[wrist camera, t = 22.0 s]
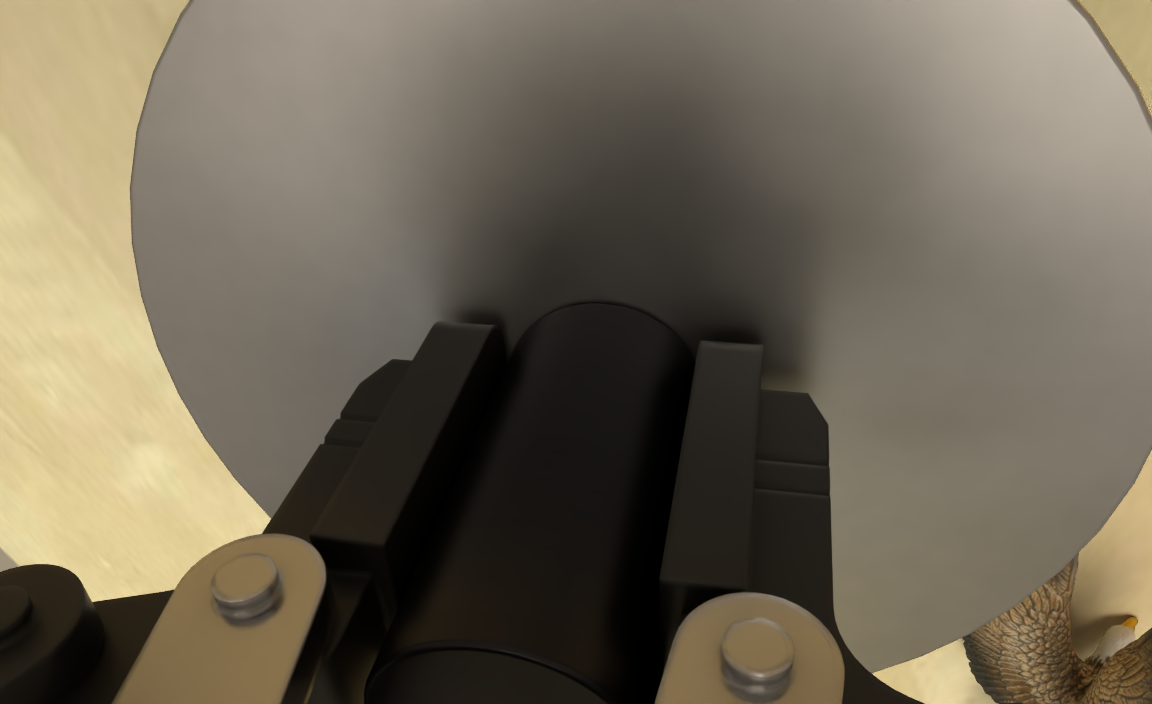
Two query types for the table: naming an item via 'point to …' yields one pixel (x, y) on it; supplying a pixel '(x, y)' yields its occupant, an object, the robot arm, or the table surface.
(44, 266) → the table surface
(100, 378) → the table surface
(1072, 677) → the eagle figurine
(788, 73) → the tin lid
